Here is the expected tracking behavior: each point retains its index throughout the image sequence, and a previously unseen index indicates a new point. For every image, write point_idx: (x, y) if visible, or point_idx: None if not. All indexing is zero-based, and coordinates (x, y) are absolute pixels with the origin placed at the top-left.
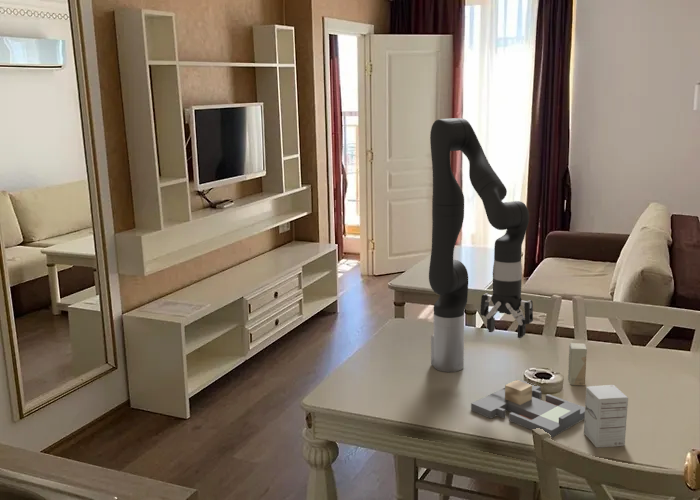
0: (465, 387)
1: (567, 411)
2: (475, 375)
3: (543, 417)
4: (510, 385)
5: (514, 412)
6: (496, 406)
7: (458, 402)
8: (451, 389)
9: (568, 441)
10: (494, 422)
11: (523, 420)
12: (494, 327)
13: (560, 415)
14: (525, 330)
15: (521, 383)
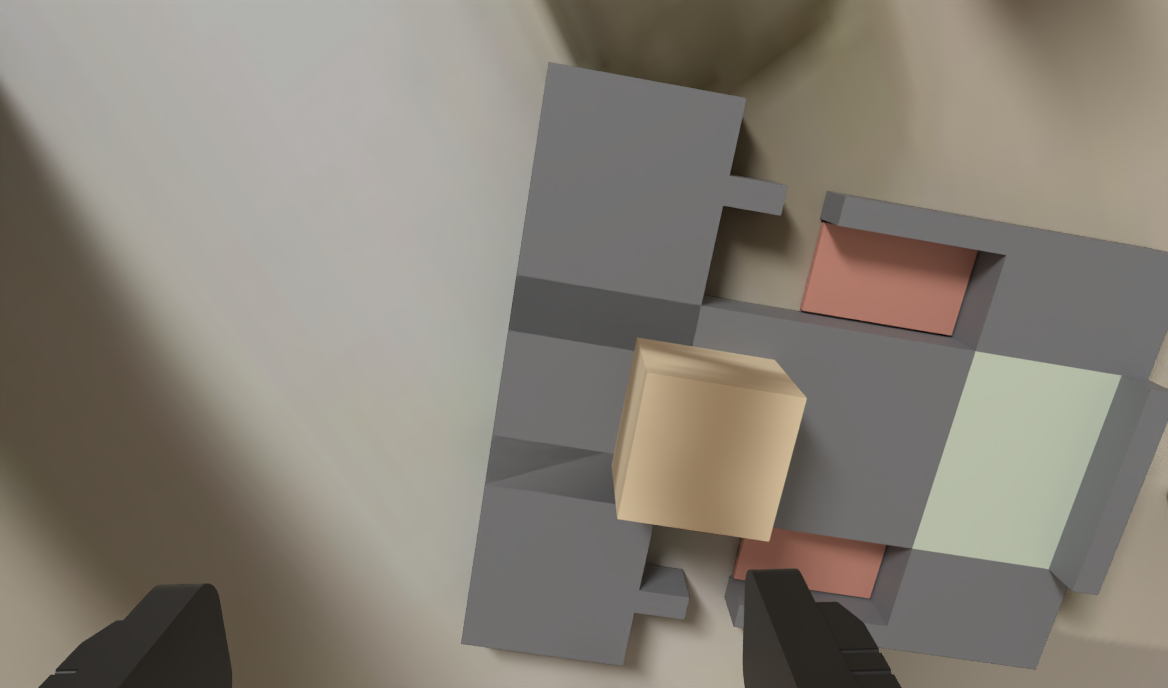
0: (226, 345)
1: (1060, 390)
2: (134, 89)
3: (942, 557)
4: (656, 502)
5: None
6: (619, 592)
7: (340, 569)
8: (173, 432)
9: (1103, 618)
10: (661, 660)
11: None
12: (183, 604)
13: (1031, 469)
14: (887, 664)
15: (714, 415)
